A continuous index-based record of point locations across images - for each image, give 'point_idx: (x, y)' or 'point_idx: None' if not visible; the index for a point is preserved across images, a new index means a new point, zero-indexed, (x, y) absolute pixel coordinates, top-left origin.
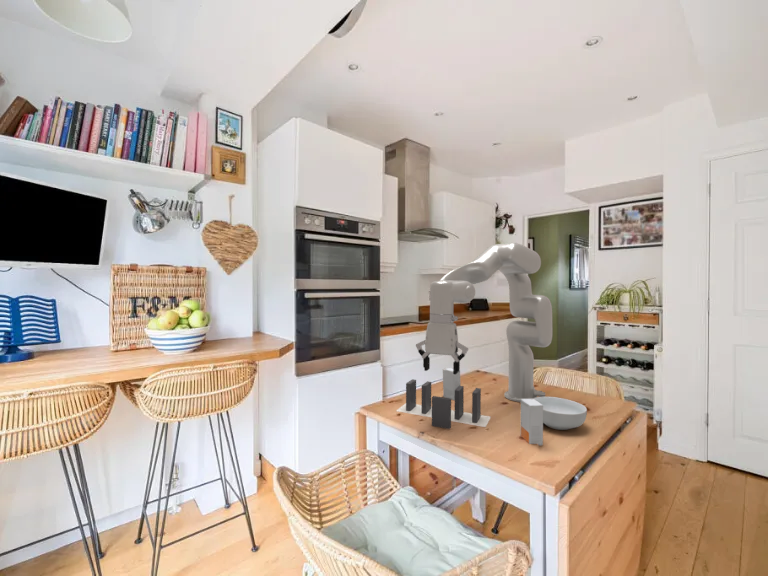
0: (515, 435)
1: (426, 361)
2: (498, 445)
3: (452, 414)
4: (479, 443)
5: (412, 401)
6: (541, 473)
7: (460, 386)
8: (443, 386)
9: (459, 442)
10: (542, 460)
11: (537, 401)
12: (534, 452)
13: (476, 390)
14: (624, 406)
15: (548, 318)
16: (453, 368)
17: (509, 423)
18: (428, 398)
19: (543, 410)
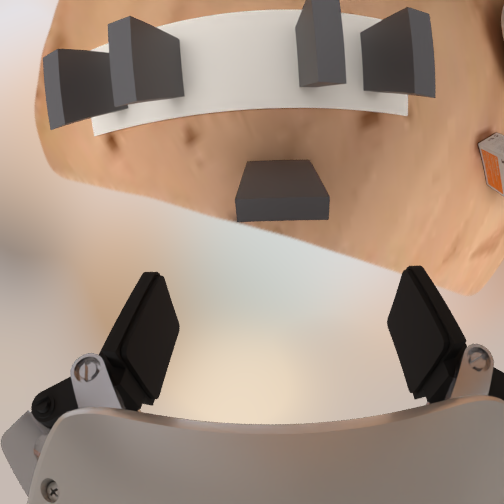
0: (469, 135)
1: (161, 386)
2: (435, 208)
3: (276, 48)
4: (397, 216)
5: (110, 87)
6: (475, 277)
7: (324, 3)
8: None
9: (351, 232)
10: (489, 236)
11: None
12: (487, 210)
13: (422, 50)
14: None
15: None
16: (398, 355)
17: (451, 55)
18: (163, 63)
19: None
